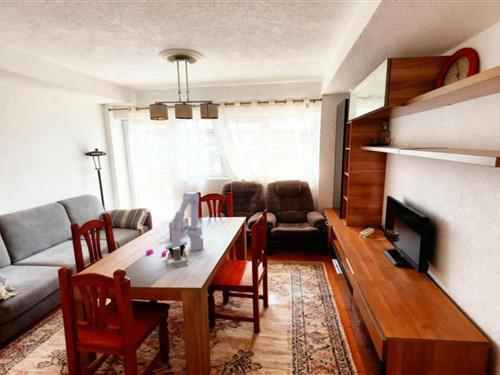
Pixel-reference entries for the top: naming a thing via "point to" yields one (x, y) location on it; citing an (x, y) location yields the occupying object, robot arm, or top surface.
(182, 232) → the gum box
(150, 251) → the toy block
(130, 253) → the top surface
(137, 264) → the top surface
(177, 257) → the walnut block
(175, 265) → the mat
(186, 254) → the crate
